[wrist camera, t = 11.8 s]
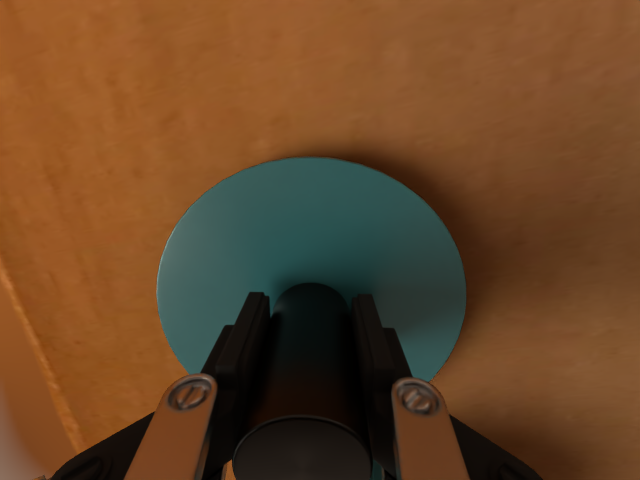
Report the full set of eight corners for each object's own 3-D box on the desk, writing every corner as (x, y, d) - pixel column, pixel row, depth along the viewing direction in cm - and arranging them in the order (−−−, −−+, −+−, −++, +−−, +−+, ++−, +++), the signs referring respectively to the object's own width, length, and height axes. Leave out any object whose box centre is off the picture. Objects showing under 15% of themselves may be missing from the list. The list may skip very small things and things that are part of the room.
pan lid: (145, 151, 11) (-120, 174, 4) (481, 158, 11) (720, 190, 4) (189, 406, 15) (87, 613, 9) (433, 410, 15) (518, 621, 9)
